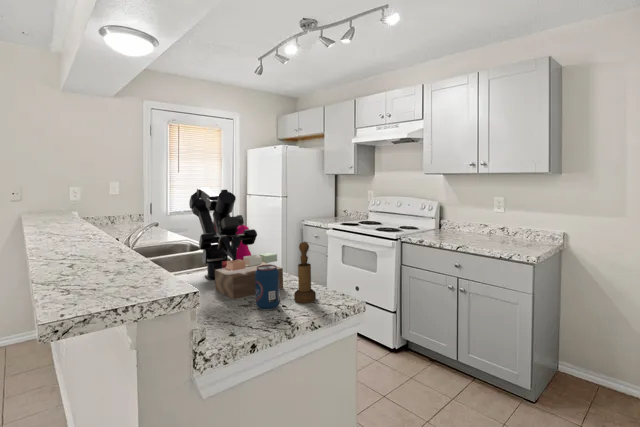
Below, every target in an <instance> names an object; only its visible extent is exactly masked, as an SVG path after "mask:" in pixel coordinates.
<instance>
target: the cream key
mask: <svg viewBox="0 0 640 427" xmlns="http://www.w3.org/2000/svg"><path fill="white" fill-rule="evenodd" d="M244 261H245V264H246V265H249V266H253V265H258V264H262V257H261V256H259V255H257V254H251V256H245V257H244Z"/></svg>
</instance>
